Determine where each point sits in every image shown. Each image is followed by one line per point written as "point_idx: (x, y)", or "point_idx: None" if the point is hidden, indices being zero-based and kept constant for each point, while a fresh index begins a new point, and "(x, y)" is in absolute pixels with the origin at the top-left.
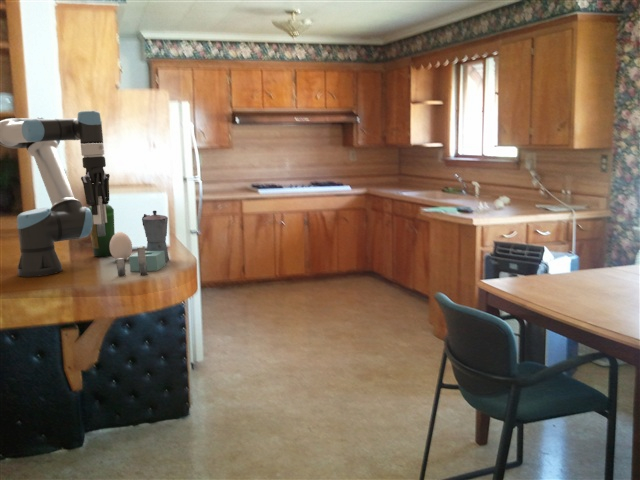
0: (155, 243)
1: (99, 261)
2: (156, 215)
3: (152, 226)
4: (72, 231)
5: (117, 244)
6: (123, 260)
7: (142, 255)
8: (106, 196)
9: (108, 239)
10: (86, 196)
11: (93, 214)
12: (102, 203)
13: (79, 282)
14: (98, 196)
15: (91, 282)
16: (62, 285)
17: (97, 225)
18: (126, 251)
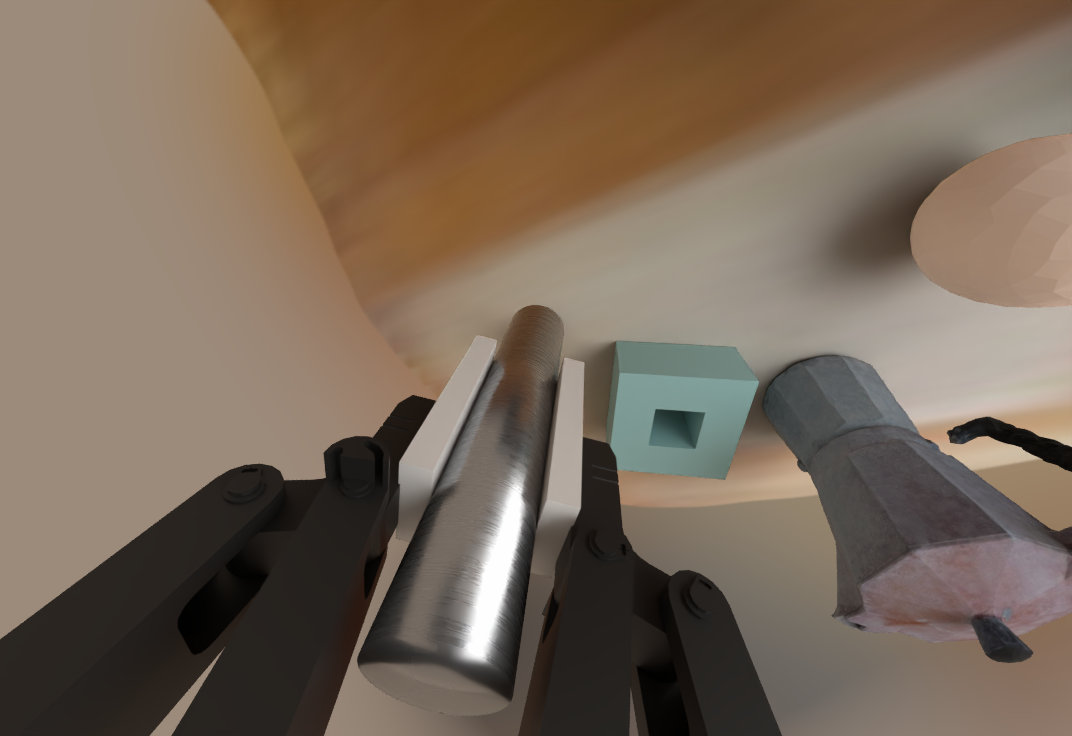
0: (811, 460)
1: (1020, 38)
2: (954, 622)
3: (844, 539)
4: None
5: (969, 236)
6: None
7: None
8: (642, 722)
9: None
10: (64, 618)
11: (406, 408)
12: (557, 564)
13: (427, 185)
14: (427, 689)
15: (429, 244)
16: (367, 120)
17: (496, 354)
18: (924, 273)
